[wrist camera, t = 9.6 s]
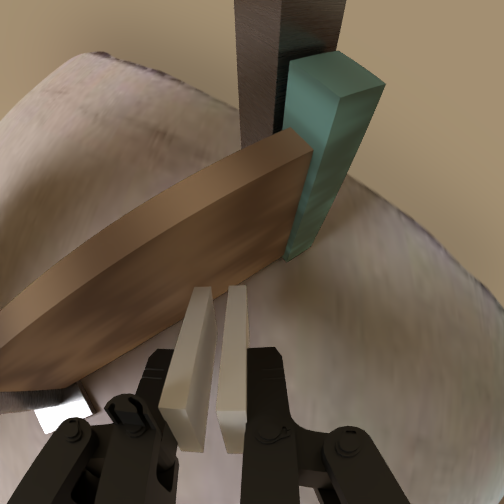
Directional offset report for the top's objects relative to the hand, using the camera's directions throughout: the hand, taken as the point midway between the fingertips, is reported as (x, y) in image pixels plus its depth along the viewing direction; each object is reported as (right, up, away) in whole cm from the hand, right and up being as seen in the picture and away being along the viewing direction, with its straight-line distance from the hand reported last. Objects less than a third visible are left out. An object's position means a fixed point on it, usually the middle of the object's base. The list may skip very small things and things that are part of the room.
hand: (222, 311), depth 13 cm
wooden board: (-4, -1, +4) cm, 6 cm away
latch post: (+2, +5, +7) cm, 9 cm away
